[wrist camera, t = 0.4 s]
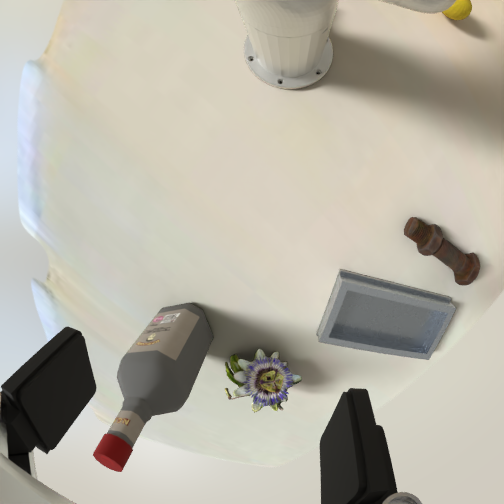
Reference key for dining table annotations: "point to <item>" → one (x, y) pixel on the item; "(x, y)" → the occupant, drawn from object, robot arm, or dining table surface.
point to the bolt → (442, 250)
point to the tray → (384, 317)
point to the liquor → (156, 377)
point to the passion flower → (261, 379)
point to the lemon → (459, 10)
